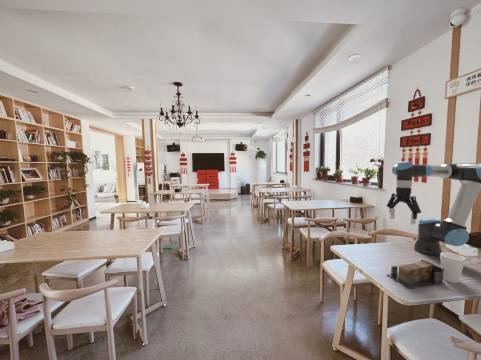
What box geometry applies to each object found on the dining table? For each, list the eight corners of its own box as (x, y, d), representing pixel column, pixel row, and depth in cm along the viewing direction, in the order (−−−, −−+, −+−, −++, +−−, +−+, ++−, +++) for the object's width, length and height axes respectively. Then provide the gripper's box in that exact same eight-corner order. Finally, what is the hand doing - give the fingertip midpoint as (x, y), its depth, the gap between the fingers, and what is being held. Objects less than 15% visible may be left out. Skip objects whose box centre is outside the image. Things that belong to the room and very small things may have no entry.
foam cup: (465, 286, 112) (467, 261, 111) (441, 281, 117) (443, 257, 116) (459, 278, 120) (461, 254, 119) (437, 273, 125) (438, 251, 124)
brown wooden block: (420, 273, 124) (421, 261, 123) (431, 277, 119) (432, 265, 118) (398, 279, 118) (399, 266, 117) (408, 283, 113) (409, 270, 112)
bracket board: (419, 271, 127) (420, 258, 126) (444, 283, 114) (446, 269, 114) (387, 275, 122) (387, 262, 122) (409, 288, 110) (410, 273, 109)
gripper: (381, 185, 147) (380, 216, 148) (419, 189, 122) (417, 227, 124) (390, 184, 148) (389, 216, 150) (430, 189, 124) (428, 226, 126)
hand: (402, 221), depth 137 cm, fingers open, 13 cm apart
